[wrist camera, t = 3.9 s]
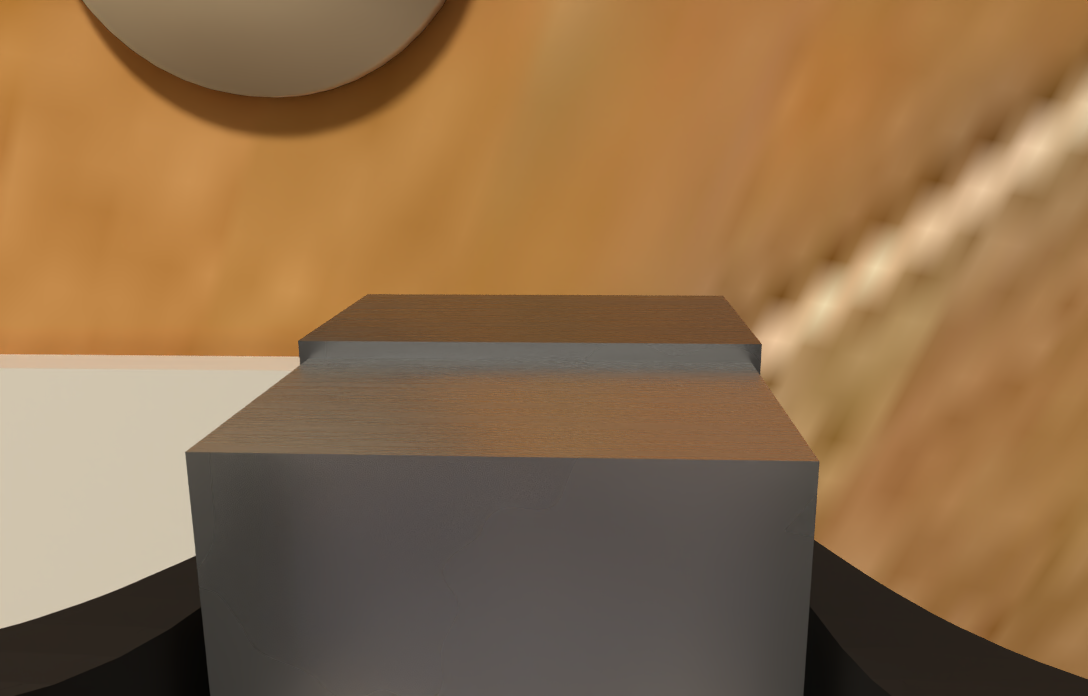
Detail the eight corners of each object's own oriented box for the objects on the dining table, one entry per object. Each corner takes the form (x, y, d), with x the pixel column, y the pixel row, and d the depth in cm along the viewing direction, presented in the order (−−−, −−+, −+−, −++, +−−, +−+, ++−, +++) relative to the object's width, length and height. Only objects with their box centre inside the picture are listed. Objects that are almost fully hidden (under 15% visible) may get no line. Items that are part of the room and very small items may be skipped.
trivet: (405, 806, 23) (389, 862, 21) (-45, 789, 23) (-97, 842, 22) (382, 351, 20) (363, 371, 18) (-127, 347, 21) (-194, 366, 19)
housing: (705, 736, 14) (782, 1167, 8) (389, 726, 14) (245, 1133, 8) (723, 295, 12) (835, 435, 7) (367, 294, 13) (169, 427, 7)
